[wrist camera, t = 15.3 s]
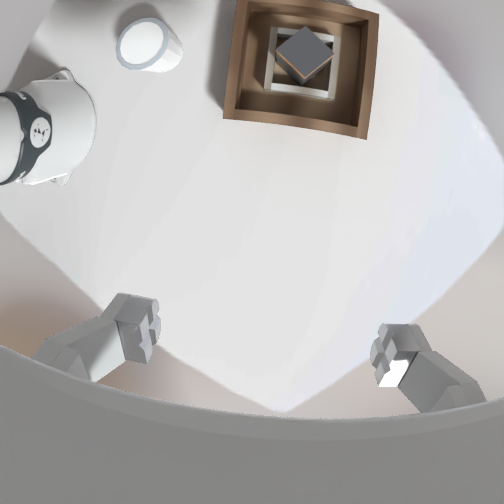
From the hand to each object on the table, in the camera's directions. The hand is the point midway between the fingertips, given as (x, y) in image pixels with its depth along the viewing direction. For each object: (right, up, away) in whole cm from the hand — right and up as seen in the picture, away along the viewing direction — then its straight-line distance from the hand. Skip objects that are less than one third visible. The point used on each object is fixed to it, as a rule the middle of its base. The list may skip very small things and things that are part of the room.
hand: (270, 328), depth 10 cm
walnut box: (+5, +25, +21) cm, 34 cm away
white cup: (-12, +29, +22) cm, 38 cm away
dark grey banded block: (+5, +25, +20) cm, 33 cm away
